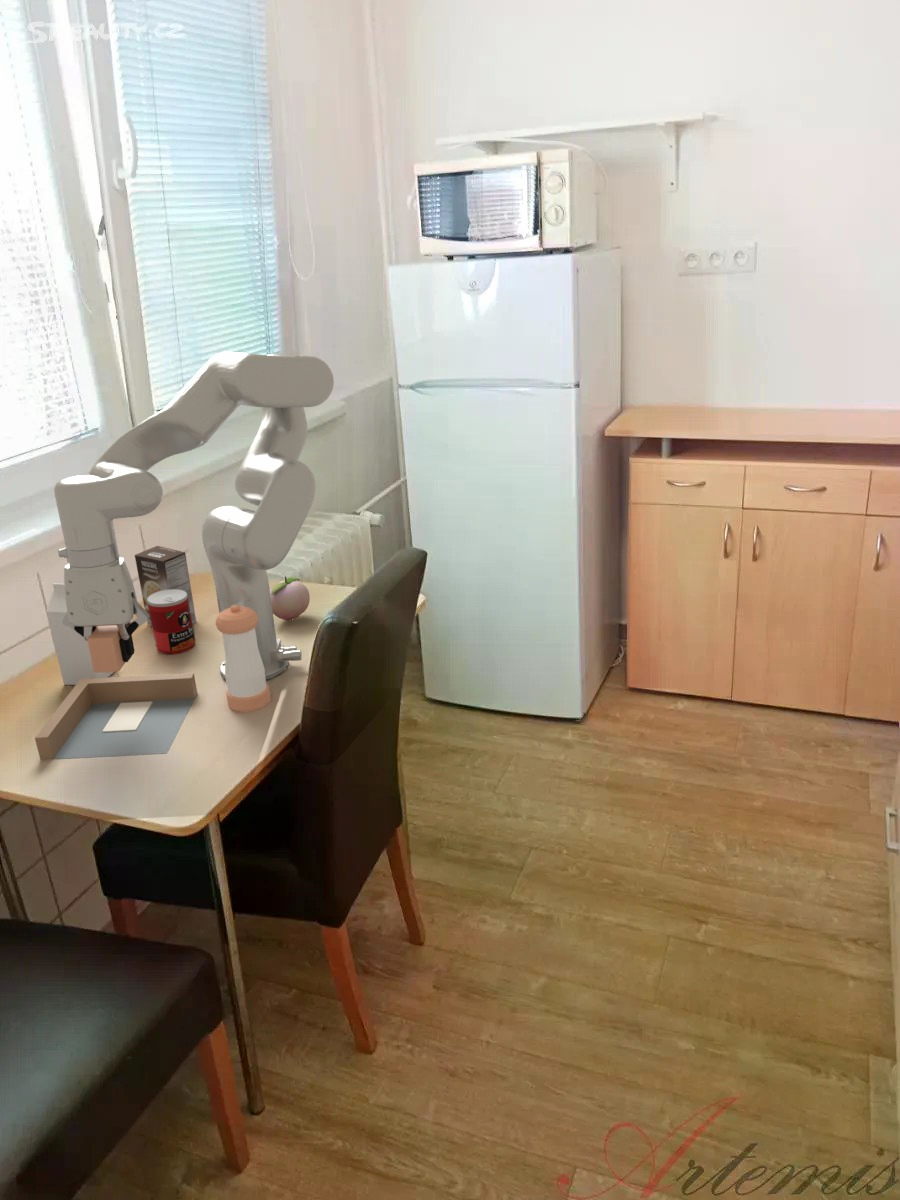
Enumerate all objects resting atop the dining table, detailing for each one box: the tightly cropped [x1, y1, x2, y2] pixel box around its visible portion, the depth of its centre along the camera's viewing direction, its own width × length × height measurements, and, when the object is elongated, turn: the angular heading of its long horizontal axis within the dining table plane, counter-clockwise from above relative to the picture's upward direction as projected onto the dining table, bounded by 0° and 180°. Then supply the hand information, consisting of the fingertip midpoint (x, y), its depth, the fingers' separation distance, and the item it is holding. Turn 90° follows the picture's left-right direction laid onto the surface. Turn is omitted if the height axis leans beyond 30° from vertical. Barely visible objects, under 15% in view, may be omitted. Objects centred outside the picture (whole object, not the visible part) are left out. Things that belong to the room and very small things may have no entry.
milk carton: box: [45, 583, 115, 686], centre depth 170 cm, size 7×7×19 cm
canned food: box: [147, 589, 196, 655], centre depth 183 cm, size 8×8×11 cm
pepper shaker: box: [215, 605, 271, 712], centre depth 156 cm, size 7×7×19 cm
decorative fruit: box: [270, 576, 311, 622], centre depth 192 cm, size 9×8×10 cm
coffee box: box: [134, 545, 197, 627], centre depth 193 cm, size 9×6×16 cm
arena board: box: [34, 672, 198, 761], centre depth 153 cm, size 20×20×5 cm
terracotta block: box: [87, 625, 126, 673], centre depth 151 cm, size 8×4×6 cm, turn 1°
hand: (113, 658), depth 152 cm, fingers closed on terracotta block, 4 cm apart
